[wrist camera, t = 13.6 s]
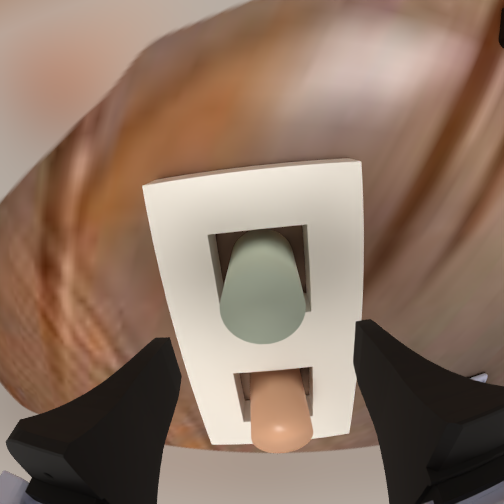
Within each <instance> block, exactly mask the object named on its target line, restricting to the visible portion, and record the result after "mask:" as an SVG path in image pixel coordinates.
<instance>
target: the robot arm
mask: <svg viewBox="0 0 504 504" xmlns="http://www.w3.org/2000/svg"><path fill="white" fill-rule="evenodd" d="M353 365H354V369H355V373H356V377H357V381H358V385H359V387H360V390H361V393H362V395H363V398H364V400H365V403H366V406H367V408H368V411H369V413H370V416H371V419H372V421H373V424H374V427H375V430H376V433H377V436H378V441H379V445H380V449H381V454H382V459H383V464H384V470H385V475H386V481H387V488H388V495H389V504H504V387H503V386H498V385H492V384H487V383H485V382H486V380H487V377H488V376H487V374H486V373H483V374H480V375H478V376H475V377H472V378H467V377H464V376H461V375H458V374H456V373H453V372H451V371H449V370H446V369H444V368H442V367H440V366H438V365H436V364H434V363H432V362H430V361H429V360H427V359H425V358H423V357H422V356H420V355H419V354H417V353H415V352H414V351H412V350H411V349H409V348H408V347H406V346H405V345H404V344H402V343H401V342H399V341H398V340H397V339H395V338H394V337H393V336H392V335H390V334H389V333H388V332H386V331H385V330H384V329H383V328H381V327H380V326H379V325H378V324H376V323H375V322H374V321H372V320H371V319H369V320H362V321H356V323H355V340H354V354H353ZM181 377H182V376H181V373H180V369H179V366H178V363H177V360H176V357H175V354H174V350H173V347H172V344H171V340H170V337H168V338H155V339H153V340H152V341H151V342H150V343H149V344H147V345H146V346H145V347H144V348H143V349H142V350H141V351H140V352H139V353H137V354H136V355H135V356H134V357H133V358H132V359H131V360H130V361H128V362H127V363H126V364H125V365H124V366H123V367H122V368H120V369H119V370H118V371H117V372H115V373H114V374H113V375H112V376H110V377H109V378H108V379H107V380H105V381H104V382H102V383H101V384H100V385H98V386H97V387H95V388H94V389H92V390H90V391H89V392H87V393H86V394H84V395H82V396H80V397H78V398H76V399H74V400H73V401H71V402H69V403H67V404H65V405H62V406H60V407H58V408H55V409H53V410H50V411H48V412H45V413H42V414H39V415H36V416H32V417H28V418H25V419H21V420H20V421H19V422H18V424H17V425H16V427H15V428H14V430H13V431H12V433H11V434H10V436H9V438H8V439H7V441H6V445H7V448H8V450H9V452H10V453H11V455H12V456H13V457H14V459H15V460H16V461H17V462H18V463H19V464H20V465H21V466H22V467H23V468H24V469H25V471H27V472H28V474H29V475H30V476H31V477H32V479H31V481H30V483H28V482H27V481H26V480H24V479H22V478H20V477H18V476H16V475H14V474H12V473H9V472H7V471H3V472H2V474H1V475H0V504H157V493H158V483H159V474H160V466H161V460H162V453H163V448H164V444H165V440H166V437H167V433H168V430H169V427H170V423H171V420H172V417H173V414H174V410H175V407H176V404H177V400H178V397H179V391H180V384H181Z"/></svg>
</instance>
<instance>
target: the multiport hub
mask: <svg viewBox="0 0 504 504" xmlns="http://www.w3.org/2000/svg"><path fill="white" fill-rule="evenodd" d="M499 43H500V45H501V46H502V47H503V48H504V8H503V9H502V13H501V24H500V33H499Z"/></svg>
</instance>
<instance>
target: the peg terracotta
mask: <svg viewBox="0 0 504 504" xmlns="http://www.w3.org/2000/svg"><path fill="white" fill-rule="evenodd" d="M250 410H251V440H252V443H253V444H254V445H255V446H256V447H257V448H259V449H260V450H263V451H266V452H270V453H286V452H291V451H294V450H297V449H299V448H301V447H303V446H305V445H306V444H307V443H308V442H309V441H310V440H311V438H312V436H313V427H312V422H311V418H310V413H309V409H308V404H307V400H306V395H305V391H304V386H303V382H302V377H301V373H300V368H295V369H285V370H274V371H262V372H250Z"/></svg>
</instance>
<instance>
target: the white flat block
mask: <svg viewBox="0 0 504 504" xmlns="http://www.w3.org/2000/svg"><path fill="white" fill-rule="evenodd" d="M142 187H143V193H144V198H145V204H146V209H147V214H148V219H149V224H150V229H151V234H152V239H153V244H154V248H155V253H156V257H157V262H158V266H159V270H160V275H161V279H162V283H163V287H164V291H165V295H166V299H167V303H168V307H169V311H170V314H171V318H172V322H173V325H174V329H175V333H176V336H177V340H178V343H179V347H180V350H181V353H182V357H183V360H184V363H185V367H186V370H187V373H188V376H189V380H190V383H191V386H192V389H193V392H194V395H195V398H196V401H197V404H198V407H199V410H200V413H201V416H202V419H203V421H204V424H205V427H206V430H207V433H208V435H209V438H210V441H211V444H253V443H252V440H251V410H250V400H245V399H244V394H243V389H242V384H241V378H240V373H248V372H262V371H274V370H285V369H295V368H304V367H309V395H306V400H307V404H308V409H309V413H310V418H311V422H312V427H313V436H312V438H311V439H314V438H321V437H329V436H335V435H342V434H348V433H349V431H350V424H351V418H352V411H353V403H354V395H355V387H356V378H357V377H356V373H355V369H354V365H353V354H354V340H355V323H356V321H361V319H362V300H363V269H364V217H363V186H362V167H361V161H358V160H354V159H351V158H341V159H325V160H311V161H299V162H287V163H276V164H266V165H257V166H248V167H239V168H231V169H223V170H216V171H208V172H201V173H194V174H188V175H181V176H175V177H169V178H163V179H157V180H154V181H152V182H150V183H147V184H145V185H143V186H142ZM296 225H302V227H303V242H304V257H305V274H306V293H303V294H304V298H305V304H306V311H305V316H304V319H303V321H302V323H301V325H300V326H299V328H298V329H297V330H296V331H295V332H294V333H293V334H292V335H290V336H289V337H287V338H286V339H284V340H282V341H279V342H276V343H272V344H254V343H249V342H246V341H244V340H241V339H239V338H238V337H236V336H235V335H233V334H232V333H231V332H230V331H229V330H228V329H227V327H226V326H225V324H224V323H223V321H222V318H221V315H220V300H221V296H222V292H223V287H224V285H223V279H222V273H221V267H220V260H219V254H218V248H217V242H216V235H215V234H219V233H228V232H238V231H247V230H256V229H266V228H276V227H286V226H296Z"/></svg>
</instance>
